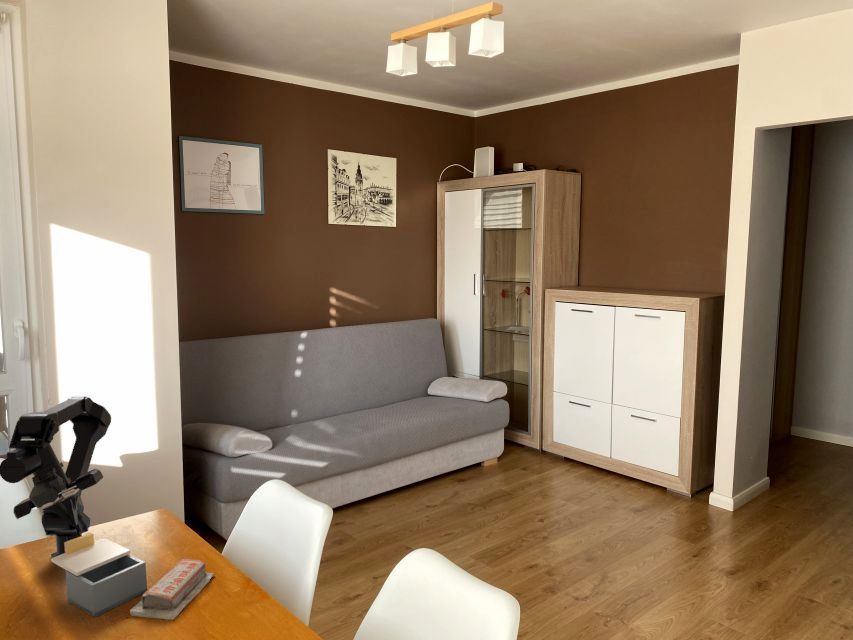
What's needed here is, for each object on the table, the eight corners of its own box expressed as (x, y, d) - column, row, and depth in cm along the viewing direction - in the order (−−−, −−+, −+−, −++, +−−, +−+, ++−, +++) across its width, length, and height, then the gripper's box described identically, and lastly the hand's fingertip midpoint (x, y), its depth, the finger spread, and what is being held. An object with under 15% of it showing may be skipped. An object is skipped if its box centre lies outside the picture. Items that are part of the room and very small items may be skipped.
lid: (51, 561, 146) (50, 547, 145) (104, 541, 156) (103, 527, 155) (77, 576, 140) (75, 561, 139) (130, 553, 149) (129, 539, 149)
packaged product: (174, 555, 154) (214, 558, 153) (175, 574, 155) (215, 577, 153) (127, 596, 137) (172, 600, 135) (129, 618, 137) (173, 622, 136)
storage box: (67, 601, 143) (65, 570, 142) (120, 577, 153) (118, 549, 152) (94, 617, 137) (92, 585, 136) (147, 591, 147) (145, 562, 146)
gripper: (-13, 494, 143) (20, 557, 145) (72, 457, 145) (103, 520, 147) (11, 479, 154) (41, 538, 156) (89, 445, 156) (117, 503, 158)
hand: (75, 525), depth 154 cm, fingers closed
